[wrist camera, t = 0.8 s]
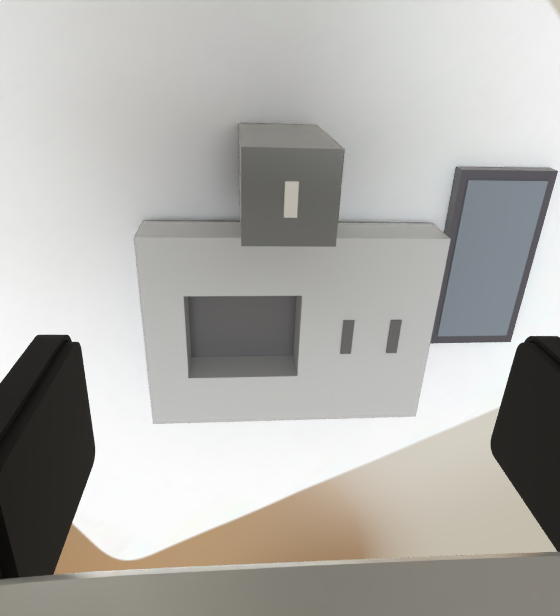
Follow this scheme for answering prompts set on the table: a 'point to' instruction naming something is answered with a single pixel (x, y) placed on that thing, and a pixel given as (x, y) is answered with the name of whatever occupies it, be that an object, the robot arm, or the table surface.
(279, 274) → the outlet plate
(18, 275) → the table surface
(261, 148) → the block
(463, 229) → the phone
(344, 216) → the table surface
